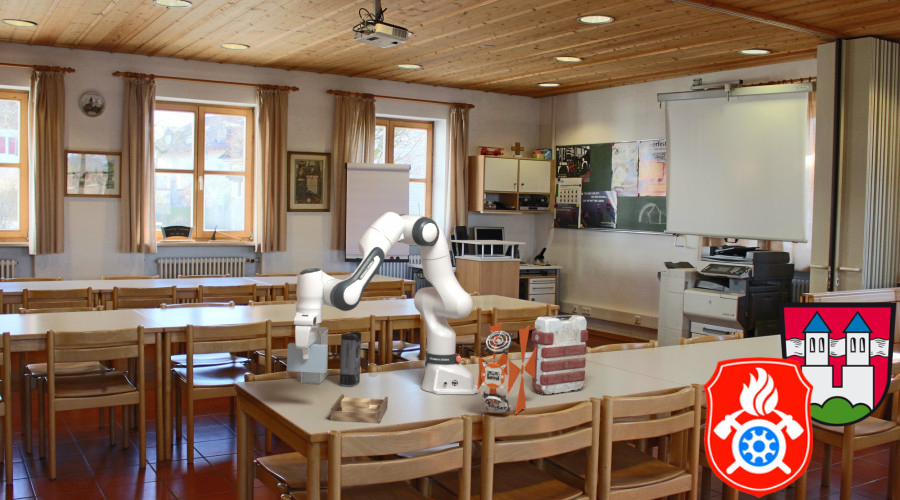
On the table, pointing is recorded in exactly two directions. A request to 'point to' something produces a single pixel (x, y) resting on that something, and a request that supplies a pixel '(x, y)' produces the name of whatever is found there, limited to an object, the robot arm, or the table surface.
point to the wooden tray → (359, 416)
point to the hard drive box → (319, 377)
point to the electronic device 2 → (504, 370)
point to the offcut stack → (358, 405)
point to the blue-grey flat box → (312, 364)
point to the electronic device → (350, 359)
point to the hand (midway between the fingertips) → (307, 357)
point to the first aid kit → (559, 353)
